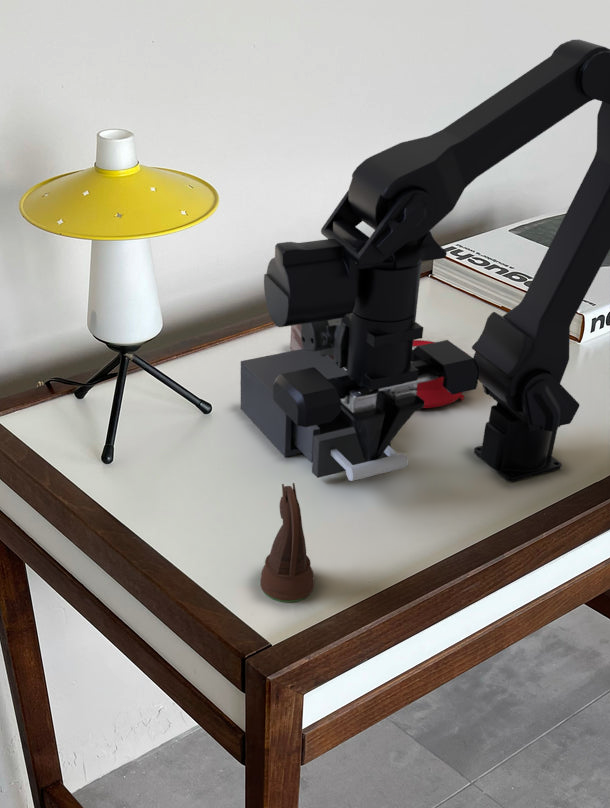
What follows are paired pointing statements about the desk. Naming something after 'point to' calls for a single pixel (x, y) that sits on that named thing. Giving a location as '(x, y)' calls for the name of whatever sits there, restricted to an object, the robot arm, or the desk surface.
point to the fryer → (259, 391)
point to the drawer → (341, 450)
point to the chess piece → (288, 555)
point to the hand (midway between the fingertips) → (370, 460)
